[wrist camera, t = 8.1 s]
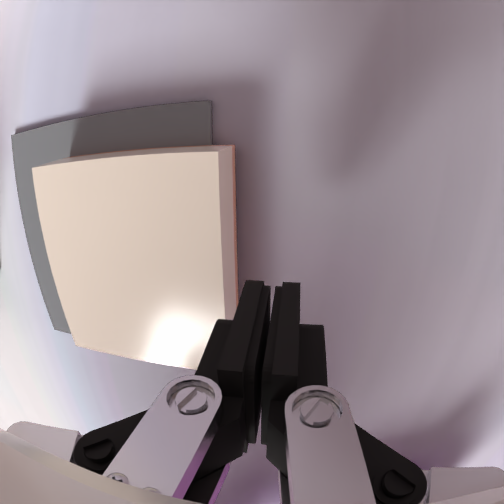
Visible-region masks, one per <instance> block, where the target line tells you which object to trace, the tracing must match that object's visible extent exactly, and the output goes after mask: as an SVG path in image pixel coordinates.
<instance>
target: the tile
mask: <svg viewBox="0 0 504 504" xmlns="http://www.w3.org/2000/svg"><path fill="white" fill-rule="evenodd" d="M32 174H33V182H34V189H35V195H36V201H37V207H38V213H39V218H40V223H41V228H42V233H43V238H44V242H45V247H46V251H47V255H48V259H49V263H50V267H51V271H52V274H53V278H54V281H55V285H56V288H57V292H58V295H59V298H60V301H61V305H62V308H63V311H64V314H65V317H66V320H67V323H68V325H69V328H70V331H71V334H72V336H73V339H74V342H75V344H76V346H79V347H83V348H87V349H91V350H95V351H99V352H104V353H108V354H112V355H117V356H122V357H126V358H131V359H136V360H141V361H146V362H152V363H157V364H163V365H169V366H175V367H181V368H188V369H195V370H197V368H198V365H199V363H200V360H201V358H202V355H203V353H204V350H205V348H206V345H207V343H208V340H209V338H210V335H211V333H212V330H213V328H214V325H215V323H216V321H217V320H218V319H227V320H233V318H234V315H235V312H236V309H237V306H238V269H237V230H236V182H235V145H198V146H175V147H159V148H145V149H133V150H122V151H112V152H103V153H95V154H87V155H79V156H72V157H67V158H63V159H60V160H56V161H53V162H49V163H46V164H43V165H39V166H36V167H33V168H32Z"/></svg>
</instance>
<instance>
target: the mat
mask: <svg viewBox="0 0 504 504" xmlns="http://www.w3.org/2000/svg"><path fill="white" fill-rule="evenodd" d="M11 139H12V151H13V161H14V169H15V177H16V184H17V191H18V197H19V203H20V209H21V214H22V219H23V224H24V229H25V233H26V238H27V242H28V246H29V250H30V254H31V258H32V262H33V265H34V269H35V273H36V276H37V279H38V283H39V286H40V289H41V292H42V296H43V299H44V302H45V305H46V308H47V310H48V313H49V316H50V319H51V322H52V324H53V327H54V330H58V331H62V332H66V333H70V334H71V331H70V328H69V325H68V323H67V320H66V317H65V314H64V311H63V308H62V305H61V301H60V298H59V295H58V292H57V288H56V285H55V281H54V278H53V274H52V271H51V267H50V263H49V259H48V255H47V251H46V247H45V242H44V238H43V233H42V228H41V223H40V218H39V213H38V207H37V201H36V195H35V189H34V182H33V174H32V168H33V167H36V166H39V165H43V164H46V163H49V162H53V161H56V160H60V159H63V158H67V157H72V156H79V155H87V154H95V153H103V152H112V151H122V150H133V149H145V148H159V147H175V146H198V145H212V104H211V101H210V100H209V101H195V102H183V103H172V104H163V105H154V106H146V107H139V108H132V109H125V110H119V111H113V112H107V113H101V114H96V115H91V116H86V117H81V118H76V119H72V120H67V121H63V122H59V123H55V124H51V125H47V126H43V127H39V128H35V129H32V130H28V131H25V132H21V133H18V134H14V135H11Z"/></svg>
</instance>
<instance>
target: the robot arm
mask: <svg viewBox="0 0 504 504" xmlns="http://www.w3.org/2000/svg"><path fill="white" fill-rule="evenodd" d="M270 292H271V288H270V286H264V281H253V280H246V282H245V285H244V288H243V291H242V294H241V297H240V300H239V303H238V306H237V309H236V312H235V315H234V318H233V320H227V319H218V320H217V321H216V323H215V325H214V328H213V330H212V333H211V335H210V338H209V340H208V343H207V345H206V348H205V350H204V353H203V355H202V358H201V360H200V363H199V365H198V368H197V371H196V373H195V375H189V376H183V377H179V378H176V379H174V380H173V381H171V382H169V383H168V384H167V385H166V386H165V387H164V388H163V390H162V391H161V392H160V394H159V395H158V397H157V398H156V400H155V401H154V402H153V404H152V405H151V407H150V408H149V409H148V410H146V411H143V412H141V413H138V414H136V415H133V416H131V417H128V418H125V419H123V420H120V421H118V422H115V423H112V424H109V425H107V426H104V427H101V428H98V429H96V430H93V431H91V432H89V433H87V434H85V435H81V434H80V433H79V431H75V430H68V429H62V428H56V427H51V426H45V425H40V424H35V423H31V422H22V421H20V422H17V423H14V424H13V425H12V426H10V427H9V428H8V430H7V431H5V430H2V429H0V504H214V503H215V500H216V498H217V496H218V494H219V492H220V489H221V487H222V485H223V482H224V480H225V478H226V476H227V473H228V471H229V469H230V465H231V461H233V460H235V459H237V458H238V457H240V456H242V454H243V452H245V453H247V448H248V443H254V444H255V443H256V438H257V432H258V426H259V420H260V413H261V407H262V413H261V444H265V445H267V455H266V458H267V459H268V460H269V461H270V462H271V463H272V464H273V465H274V466H276V467H277V468H278V480H279V495H280V504H504V471H503V470H502V469H500V468H497V467H431V468H430V470H421V469H420V468H419V467H418V466H417V465H416V464H414V463H413V462H411V461H410V460H408V459H406V458H405V457H403V456H402V455H400V454H399V453H397V452H396V451H394V450H393V449H391V448H390V447H388V446H387V445H385V444H384V443H382V442H381V441H379V440H378V439H376V438H375V437H373V436H372V435H370V434H369V433H368V432H366V431H365V430H363V429H362V428H360V427H359V426H358V425H356V424H355V423H354V421H353V417H352V414H351V410H350V407H349V404H348V402H347V400H346V398H345V397H344V396H343V395H342V394H341V393H340V392H338V391H336V390H334V389H332V388H330V387H328V385H327V367H326V351H325V337H324V326H323V325H310V324H300V283H294V282H283V285H282V287H281V286H276V287H275V294H274V301H273V307H272V314H271V320H270Z"/></svg>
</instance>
